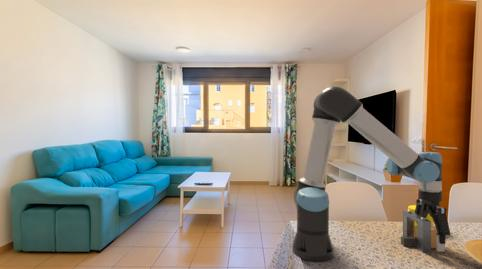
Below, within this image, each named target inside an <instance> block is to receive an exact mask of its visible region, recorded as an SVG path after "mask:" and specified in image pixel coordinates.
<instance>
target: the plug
mask: <svg viewBox="0 0 482 269" xmlns="http://www.w3.org/2000/svg"><path fill="white" fill-rule="evenodd" d="M436 233H438V232H437V230H436V227H435V225H433V226H431V249H432V248H435V249H436ZM400 244H401V245H402V246H404V247H418V226H414V237H407V236H403V235H401V236H400Z"/></svg>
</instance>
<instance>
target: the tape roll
mask: <svg viewBox="0 0 482 269" xmlns="http://www.w3.org/2000/svg"><path fill="white" fill-rule="evenodd" d="M415 209H416V204H413V205H411V204H410V205H408V207H407V210H409V211H412V212H414V213H415ZM426 219H428V220H430V221H431V226H434V221H433V218H432V217H431V216H430V214H429V213H428V215H427V217H426ZM414 226H417V222H416V221H415V220H414Z"/></svg>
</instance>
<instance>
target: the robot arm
mask: <svg viewBox="0 0 482 269" xmlns="http://www.w3.org/2000/svg"><path fill="white" fill-rule="evenodd" d="M311 120H312V121H313V129H312V133H311V139H310V143H309V147H308V152H307V157H306V162H305V166H304V170H303V175H302V177H300V178H298V180H297V186H296V189H295V190H294V193H293V201H294V204H295V208H296V232H295V235H294V237H293V241H292V245H291V247H292V248H291V249H292V253H293V254H294V255H295V256H296V257H298V258H299V259H302V260H305V261H309V262H313V263H314V262H316V263H317V262H318V263H319V262H328V261H330V260H332V259H333V258H334V256H335V254H334V251H335V250H334V247H333V243H332V240H331V236H330V232H329V228H330V227H329V226H330V225H329V224H330V221H329V220H330V219H329V218H330V217H329V216H330V215H329V213H330V207H329V206H330V199H329V198H330V197H329V194H328V192H327V191H326V187H327V186H326V184H325V183H324V180H325V175H326V171H327V166H328V160H329V156H330V151H331V148H332V143H333V139H334V135H335V129H336V127H338V126H339V125H340V123H341V122H342V123H343V124H348V125H350V126H351V127H352V128H353V129H354V130H355V131H357V133H359V134H360V135H361V136H362V137H364V139H365V140H367V141H368V142H370V143H371V144H372V145H373V146H374V147H376V149H378V150H379V151H380V152H381V153H382V154H384V155H385V156H387V157H388V158H387V160H386V165H385V167H386V171H387V173H388V175H390V176H403V177H406V178H410V179H412V180H416V181H417V182H418V188H419V189H418V199H416V201H415V202H416V203H415V205H416V209H415V213H416V214H418V215H420V216H422V217H424V218H426V217H427V215H428V213H429V214H430V216H431V217H432V218H433V225H434V227H436V230H437V232H438V233H436V248H435V251H436V252H439V253H441V252H446V237H447V236H451V230H450V227H449V222H448V221H449V220H448V217H447V208H446V207H441V206H440V202H442V201H443V192H442V191H443V186H442V185H443V184H442V181H443V159H442V158H443V157H442V154H441V153H440V152H434V151H420V152H418V153H417V152H416V151H415V150H414V149H412V147H410V146H409V145H408V144H407V143H406V142H404V141H403V140H402V139H401V138H400V137H399V136H397V135H396V134H395V133H394V132H393V131H391V130H390V129H388V127H387V126H385V125H384V124H383V123H382V122H380V121H379V120H378V119H377V118H375V116H373V115H372V113H370V112H368V111H367V110H366V109H365V108H364V106H363V103H362V102H361V101H360V100H359V99H357V98H356V97H355V96H354V95H353V94H351V93H350V92H349V91H348V90H346V89H345V88H343V87H341V86H335V85H334V86H329V87H327V88H325V89H324V90H322V91H321V92H320V93H319V94H318V95H317V96H316V97H315V99H314V101H313V112H312V117H311ZM416 222H417V221H416ZM417 226H418V222H417Z"/></svg>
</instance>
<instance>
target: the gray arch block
mask: <svg viewBox="0 0 482 269" xmlns="http://www.w3.org/2000/svg"><path fill="white" fill-rule="evenodd" d="M414 220H415V221H417V222H418V246H417V250H418V251H420V252H421V253H427V254H428V253H430V254H431V253H432V248H431V221H430V220H428V219H426V218H424V217H422V216H420V215H418V214H416V213H414V212H412V211H409V210H408V209H407V210H402V236H407V237H414Z"/></svg>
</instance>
